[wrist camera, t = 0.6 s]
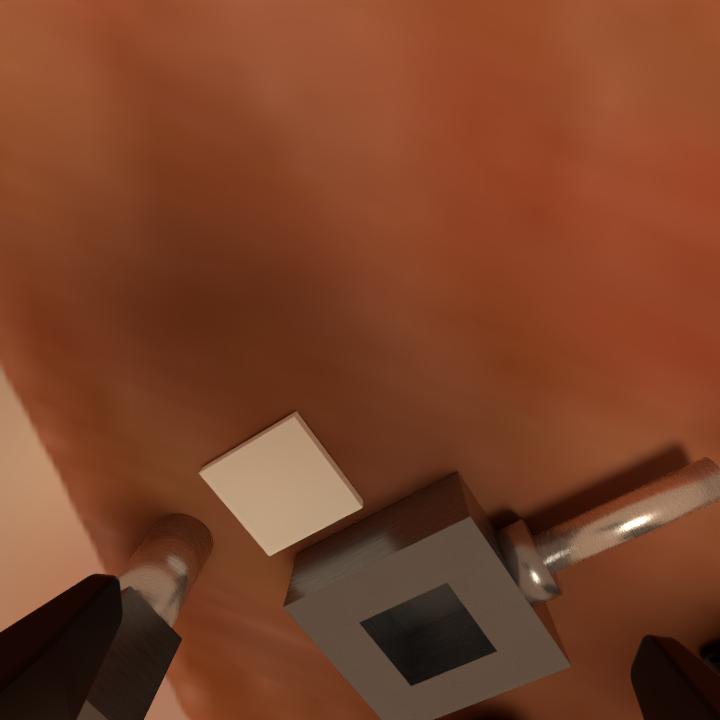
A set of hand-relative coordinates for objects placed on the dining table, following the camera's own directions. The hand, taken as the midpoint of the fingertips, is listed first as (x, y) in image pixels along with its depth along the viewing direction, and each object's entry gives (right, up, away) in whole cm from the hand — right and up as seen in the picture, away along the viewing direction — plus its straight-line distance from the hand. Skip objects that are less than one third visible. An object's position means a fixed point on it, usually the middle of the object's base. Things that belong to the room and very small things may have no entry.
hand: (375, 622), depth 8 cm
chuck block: (+7, -5, +16) cm, 18 cm away
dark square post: (-10, -5, +17) cm, 21 cm away
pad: (-4, -2, +16) cm, 16 cm away
